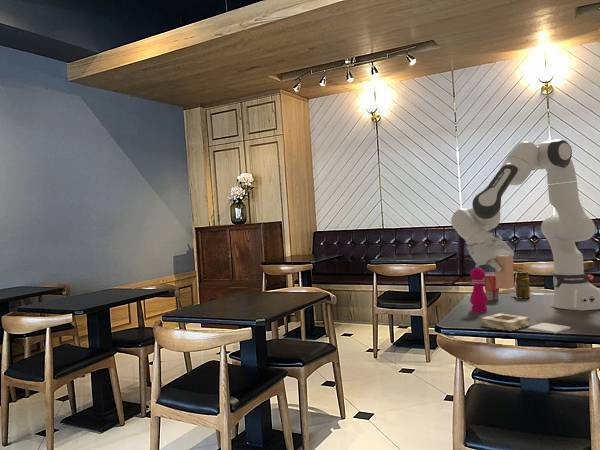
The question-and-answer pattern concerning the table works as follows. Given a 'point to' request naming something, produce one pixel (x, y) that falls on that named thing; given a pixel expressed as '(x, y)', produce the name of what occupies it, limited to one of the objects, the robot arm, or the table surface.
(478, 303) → the pepper mill
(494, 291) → the cup
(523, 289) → the condiment
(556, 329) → the felt pad
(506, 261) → the terracotta block
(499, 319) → the pocket board
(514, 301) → the table surface
